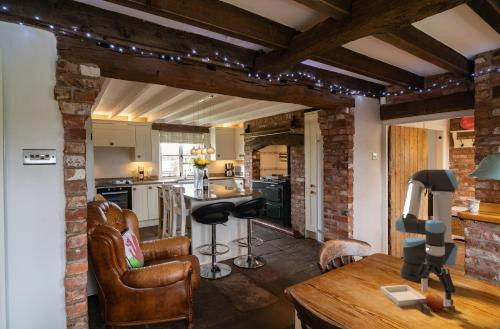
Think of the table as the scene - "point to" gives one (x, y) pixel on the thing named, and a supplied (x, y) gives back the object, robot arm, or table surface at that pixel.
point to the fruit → (434, 302)
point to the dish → (402, 295)
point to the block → (426, 309)
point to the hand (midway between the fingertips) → (435, 298)
